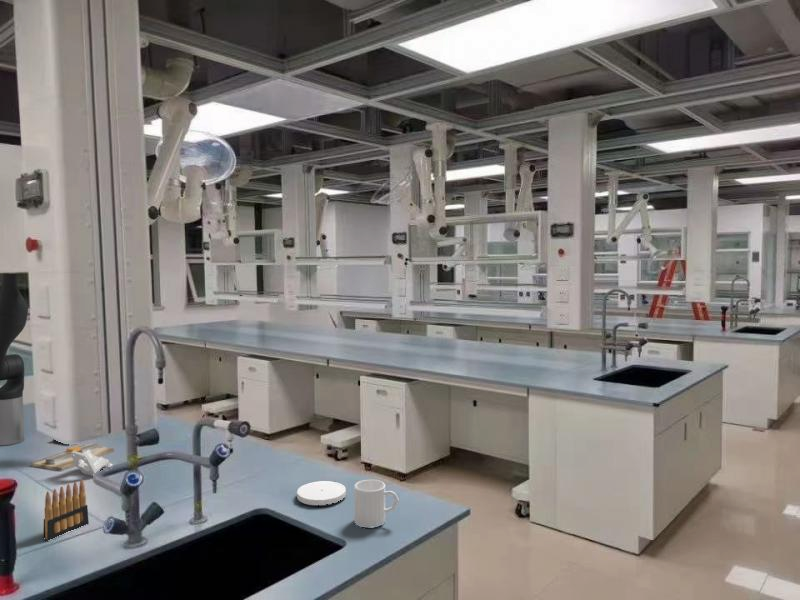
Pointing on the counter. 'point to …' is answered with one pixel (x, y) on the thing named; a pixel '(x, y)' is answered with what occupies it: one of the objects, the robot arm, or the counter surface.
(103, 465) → the mounting bracket
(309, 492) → the plastic lid
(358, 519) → the mug
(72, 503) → the ammunition clip
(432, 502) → the counter surface
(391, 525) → the counter surface
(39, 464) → the rail board
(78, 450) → the block
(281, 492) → the counter surface
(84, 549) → the counter surface
